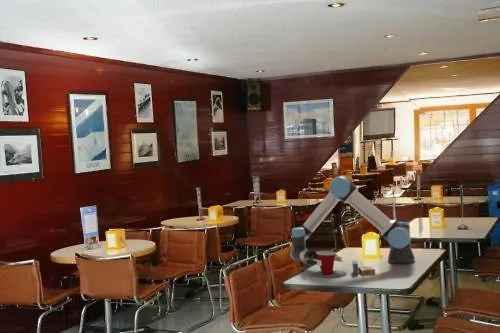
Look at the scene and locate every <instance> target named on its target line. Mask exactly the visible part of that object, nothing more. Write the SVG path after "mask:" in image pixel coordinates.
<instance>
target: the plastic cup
mask: <svg viewBox="0 0 500 333" xmlns="http://www.w3.org/2000/svg"><path fill="white" fill-rule="evenodd" d="M315 252H316V254H317V256H318V260H321V262H322V266H319V269H320V271H321V273H322V275H331V274H332V273H333V270H334V266H335V264H334V263H335V261H334V258H335V255H337V252H335V251H329V250H321V251H315Z"/></svg>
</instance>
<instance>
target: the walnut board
mask: <svg viewBox="0 0 500 333" xmlns="http://www.w3.org/2000/svg"><path fill="white" fill-rule="evenodd" d="M358 274H360V275H362V276H373V275H376V269H375V268H374V267H373V266H372V265H365V266H358Z"/></svg>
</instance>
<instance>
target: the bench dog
mask: <svg viewBox="0 0 500 333" xmlns="http://www.w3.org/2000/svg"><path fill="white" fill-rule="evenodd" d="M351 264H352V274H353V275H354V276H359V271H358V267H359V264H358V261H357V260H352V261H351Z"/></svg>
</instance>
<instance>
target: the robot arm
mask: <svg viewBox="0 0 500 333" xmlns="http://www.w3.org/2000/svg"><path fill="white" fill-rule="evenodd" d="M340 201H341V202H342V203H343V204H349V205H350V206H351V207H352V208H353V209H355V211H357V212H358V213H359V214H360V215H361V216H362V217H364V218H365V219H366V220H367V221H368V222H369V223H370V224H372V225H373V226H374V227H375V228H376V229H377V230H378V231H379V232H380V236H382V237H383V238H384V239H385V241H387V242H388V244H389V248H390V249H389V253H388V256H387V262H388V263H389V264H397V265H402V264H404V265H405V264H411V263H412V264H413V263H414V262H416V257H415V255H414V252H413V249H412V245H411V243H412V242H411V231H410V230H411V226H410V223H409V222H408V221H397V220H395V219H391V218H389V217H388V216H387V215H386V214H385V213H383V212H382V211H381V210H380V209H379V208H378V207H376V206H375V205H374V204H373V203H372V202H371V201H370V200H368V198H366V197H365V196H364V195H363V194H361V193H360V192H359V188H358V187H357V186H356V185H355V184H354V183H353V181H352V180H351V178H350V177H348V176H346V175H340V176H336V177H334V178H332V180H331V182H330V184H329V190H328V193H327V195H326V196H325V197H324V198H323V199H322V201H321V202H320V204H318V206H317V207H315V209H314V210H313V212H312V213H311V214H310V215H309V216H308V218H307V219H306V221H305V222H304V223H303V224H302V225H301V226H299V227H293V228H292V229H291V238H292V239H291V240H292V249H290V253H289V255H290V258H291V259H293V260H294V261H296V262H302V263H305V264H307V265H310V266H314V265H315V266H318V267H320V266H322V262H321V260H318V256H317V254H316V252H317V251H316V250H313V249H312V250H311V249H307V247H306V246H307V245H306V241H307V240H309V238H310V237H311V235H313V233H314V232H315V230H316V229H317V227H319V226H320V224H321V223H322V222H323V221H324V219H326V217H327V215H329V214H330V213H331V211H332V210H333V209H334V208H335V207H336V205H337V203H339V202H340ZM335 261H336V262H339V263H342V262H343V257H342V256H339V254H336V255H335V258H334V262H335Z"/></svg>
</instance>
